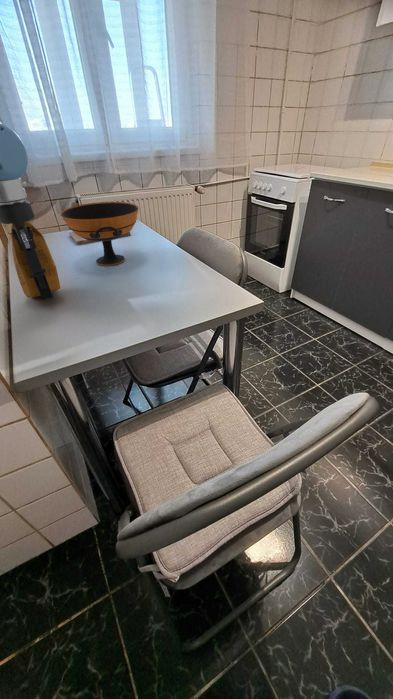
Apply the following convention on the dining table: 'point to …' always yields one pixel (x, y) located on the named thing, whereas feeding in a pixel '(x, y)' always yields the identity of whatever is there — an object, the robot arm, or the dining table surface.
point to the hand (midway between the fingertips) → (47, 297)
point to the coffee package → (44, 259)
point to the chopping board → (81, 240)
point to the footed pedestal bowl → (102, 225)
